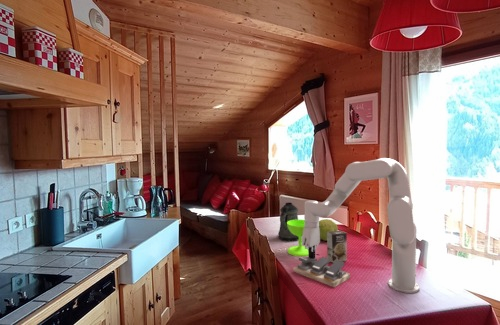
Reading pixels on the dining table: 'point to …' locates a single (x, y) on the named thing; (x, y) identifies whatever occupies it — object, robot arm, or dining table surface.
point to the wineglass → (297, 229)
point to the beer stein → (286, 215)
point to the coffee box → (337, 246)
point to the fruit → (326, 228)
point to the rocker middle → (320, 264)
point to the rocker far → (307, 259)
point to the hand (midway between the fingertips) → (311, 257)
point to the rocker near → (334, 268)
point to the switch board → (321, 274)
